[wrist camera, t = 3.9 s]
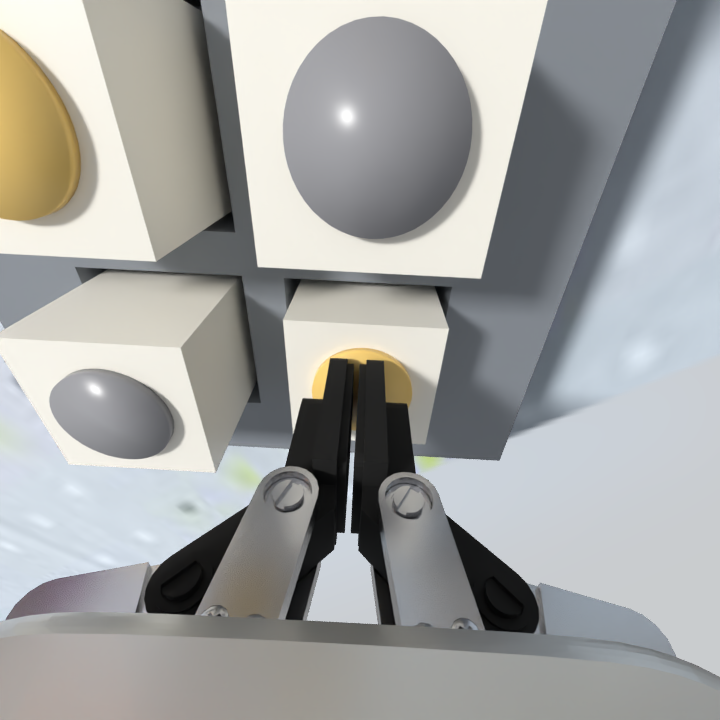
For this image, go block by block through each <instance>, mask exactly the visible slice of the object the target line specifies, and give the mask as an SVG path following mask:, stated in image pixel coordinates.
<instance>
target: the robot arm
mask: <svg viewBox="0 0 720 720" xmlns="http://www.w3.org/2000/svg"><path fill="white" fill-rule="evenodd" d="M353 382H354V364H350V363H348V359H342V358H330V361H329V367H328V373H327V378H326V384H325V390H324V395H323V399H311V398H303V399H302V402H301V405H300V409H299V413H298V417H297V421H296V425H295V429H294V433H293V437H292V441H291V445H290V449H289V453H288V457H287V461H286V465H285V467H282V468H278V469H276V470H274V471H272V472H270V473H269V474H268V475H267V476H266V477H264V478H263V480H262V481H261V483H260V484H259V485H258V487H257V489H256V492H255V494H254V496H253V498H252V500H251V502H250V504H249V505H248V506H247V507H245V508H244V509H242V510H241V511H239V512H237V513H236V514H234V515H233V516H231V517H230V518H228V519H227V520H225V521H224V522H222V523H221V524H219V525H218V526H216V527H215V528H213V529H212V530H210V531H208V532H207V533H205V534H204V535H202V536H201V537H199V538H198V539H196V540H195V541H193V542H192V543H190V544H189V545H187V546H186V547H184V548H183V549H181V550H180V551H178V552H176V553H175V554H173V555H172V556H170V557H169V558H168V559H167V560H166V561H164V562H163V563H162V564H160V565H155V566H150V564H149V563H142V564H136V565H131V566H125V567H120V568H114V569H109V570H103V571H97V572H92V573H86V574H81V575H75V576H70V577H64V578H59V579H55V580H52V581H49V582H46V583H43V584H41V585H40V586H38V587H36V588H35V589H33V590H31V591H30V592H28V593H27V594H26V595H25V596H24V597H23V598H22V599H21V600H20V601H19V602H18V603H17V604H16V605H15V606H14V608H13V609H12V611H11V612H10V613H9V615H8V616H7V618H6V620H4V621H1V622H0V720H720V677H719V676H717V675H715V674H712V673H711V672H709V671H707V670H705V669H703V668H701V667H699V666H696V665H694V664H692V663H689V662H687V661H684V660H681V659H679V658H677V657H676V655H675V653H674V651H673V649H672V647H671V645H670V643H669V641H668V639H667V638H666V636H665V635H664V634H663V633H662V632H661V631H660V629H659V628H658V627H657V626H656V625H655V624H654V623H653V622H651V621H650V620H649V619H647V618H646V617H645V616H643V615H642V614H640V613H637V612H635V611H633V610H631V609H629V608H625V607H622V606H618V605H615V604H611V603H608V602H604V601H601V600H597V599H594V598H591V597H587V596H583V595H580V594H577V593H573V592H570V591H566V590H563V589H560V588H556V587H553V586H549V585H546V584H542V583H540V584H539V585H538V586H534V585H530V584H527V583H526V582H525V581H524V580H523V579H522V578H521V577H520V576H519V575H518V574H517V573H516V572H515V571H513V570H512V569H511V568H510V567H509V566H507V565H506V564H505V563H504V562H503V561H501V560H500V559H499V558H497V557H496V556H495V555H494V554H493V553H492V552H490V551H489V550H488V549H487V548H486V547H484V546H483V545H482V544H481V543H480V542H478V541H477V540H476V539H474V537H472V536H471V535H470V534H469V533H467V532H466V531H465V530H464V529H463V528H462V527H460V526H459V525H458V524H457V523H455V522H454V521H453V520H452V519H451V518H449V517H448V516H447V515H446V514H445V511H444V508H443V506H442V503H441V500H440V497H439V494H438V492H437V490H436V488H435V487H434V486H433V485H432V484H431V483H430V482H429V480H427V479H425V478H424V477H422V476H421V475H418V474H416V472H415V463H414V455H413V446H412V438H411V430H410V421H409V413H408V406H407V403H390V402H386V396H385V373H384V361H381V360H367V361H366V364H360V366H359V384H358V402H357V421H356V439H355V457H354V478H353V499H352V520H351V533H357V534H359V535H358V546H359V552H360V553H361V554H362V555H363V556H364V557H365V558H366V559H367V560H368V562H369V563H370V564H371V576H372V584H373V591H374V597H375V606H376V613H377V620H378V625H377V624H360V623H339V622H321V621H306V620H307V616H308V612H309V609H310V605H311V601H312V597H313V594H314V590H315V586H316V582H317V578H318V575H319V571H320V567H321V560H323V558H325V557H326V556H327V555H328V554H329V553H331V552H332V551H333V550H334V545H336V539H337V532H338V533H344V532H345V520H346V519H345V518H346V505H347V491H348V476H349V462H350V447H351V432H352V407H353Z"/></svg>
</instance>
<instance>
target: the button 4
mask: <svg viewBox="0 0 720 720" xmlns="http://www.w3.org/2000/svg"><path fill="white" fill-rule="evenodd" d="M283 327H284V338H285V350H286V361H287V372H288V383H289V394H290V405H291V417H292V428H293V433H294V429H295V425H296V421H297V417H298V413H299V409H300V405H301V402H302V399H303V398H311V399H323V395H324V390H325V384H326V378H327V373H328V367H329V361H330V358H342V359H348V363H350V364H354V382H353V407H352V432H351V440H353V441H355V439H356V421H357V402H358V384H359V366H360V364H366V361H367V360H381V361H384V373H385V396H386V402H390V403H407V406H408V413H409V421H410V430H411V438H412V444H425V443H426V438H427V434H428V429H429V424H430V419H431V414H432V409H433V404H434V399H435V395H436V390H437V385H438V380H439V375H440V370H441V365H442V360H443V356H444V351H445V346H446V341H447V336H448V331H449V328H448V325H447V322H446V319H445V316H444V313H443V310H442V307H441V304H440V301H439V298H438V295H437V292H436V289H435V287H434V286H427V285H408V284H389V283H370V282H351V281H332V280H313V279H301V281H300V283H299V285H298V288H297V290H296V292H295V294H294V297H293V299H292V301H291V303H290V305H289V308H288V310H287V312H286V314H285V316H284V319H283Z"/></svg>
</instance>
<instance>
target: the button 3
mask: <svg viewBox="0 0 720 720" xmlns="http://www.w3.org/2000/svg"><path fill="white" fill-rule="evenodd" d="M547 1H548V0H225V3H226V12H227V20H228V28H229V36H230V44H231V52H232V61H233V69H234V77H235V85H236V93H237V102H238V110H239V118H240V126H241V134H242V142H243V151H244V159H245V167H246V175H247V183H248V192H249V200H250V208H251V216H252V224H253V232H254V241H255V249H256V257H257V265H258V267H268V268H287V269H306V270H325V271H344V272H363V273H382V274H402V275H421V276H440V277H459V278H478V279H481V276H482V272H483V268H484V263H485V259H486V255H487V251H488V247H489V243H490V238H491V234H492V230H493V226H494V222H495V218H496V213H497V209H498V205H499V201H500V197H501V193H502V189H503V184H504V180H505V176H506V172H507V168H508V164H509V159H510V155H511V151H512V147H513V143H514V139H515V134H516V130H517V126H518V122H519V118H520V114H521V109H522V105H523V101H524V97H525V93H526V89H527V85H528V80H529V76H530V72H531V68H532V64H533V60H534V55H535V51H536V47H537V43H538V39H539V35H540V30H541V26H542V22H543V18H544V14H545V10H546V5H547Z"/></svg>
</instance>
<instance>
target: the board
mask: <svg viewBox="0 0 720 720" xmlns="http://www.w3.org/2000/svg"><path fill="white" fill-rule="evenodd" d="M183 1H185V2H187V3H189V4H190V5H192V6H194V7H195V8H197V9H199V10H200V11H202V13H203V19H204V26H205V33H206V39H207V46H208V53H209V59H210V66H211V73H212V79H213V86H214V93H215V99H216V106H217V113H218V119H219V126H220V133H221V140H222V146H223V153H224V160H225V166H226V173H227V180H228V186H229V193H230V200H231V206H232V211H231V212H229V213H228V214H227V215H225V216H224V217H222V218H221V219H219V220H218V221H216V222H215V223H213V224H212V225H210V226H209V227H207V228H206V229H204V230H203V231H201V232H200V233H198V234H197V235H195V236H194V237H192V238H191V239H189V240H188V241H186V242H185V243H183V244H182V245H180V246H179V247H177V248H176V249H174V250H173V251H171V252H170V253H168V254H167V255H165V256H164V257H162V258H161V259H159V260H158V261H156V262H153V261H134V260H115V259H96V258H77V257H58V256H39V255H20V254H1V253H0V322H1V323H2V325H3V327H4V328H5V329H6V328H7V327H9V326H11V325H13V324H14V323H16V322H18V321H20V320H21V319H23V318H25V317H26V316H28V315H30V314H32V313H33V312H35V311H37V310H39V309H40V308H42V307H44V306H45V305H47V304H49V303H51V302H52V301H54V300H56V299H58V298H59V297H61V296H63V295H65V294H66V293H68V292H70V291H71V290H73V289H75V288H77V287H78V286H80V285H82V284H84V283H85V282H87V281H89V280H90V279H92V278H94V277H96V276H97V275H99V274H101V273H103V272H104V271H106V270H108V269H123V270H142V271H161V272H180V273H199V274H218V275H237V276H242V280H243V286H244V293H245V300H246V306H247V313H248V320H249V327H250V333H251V340H252V347H253V353H254V360H255V367H256V373H257V381H256V384H255V386H254V388H253V390H252V393H251V395H250V397H249V399H248V402H247V404H246V406H245V408H244V411H243V413H242V415H241V417H240V420H239V422H238V424H237V426H236V428H235V431H234V433H233V435H232V437H231V440H230V442H229V444H228V445H231V446H248V447H266V448H284V449H290V445H291V441H292V437H293V428H292V417H291V405H290V394H289V383H288V372H287V361H286V350H285V338H284V327H283V319H284V316H285V314H286V312H287V310H288V308H289V305H290V303H291V301H292V299H293V297H294V294H295V292H296V290H297V288H298V285H299V283H300V281H301V279H313V280H332V281H351V282H370V283H389V284H408V285H427V286H434V287H435V289H436V292H437V295H438V298H439V301H440V304H441V307H442V310H443V313H444V316H445V319H446V322H447V325H448V328H449V331H448V336H447V341H446V346H445V351H444V356H443V360H442V365H441V370H440V375H439V380H438V385H437V390H436V395H435V399H434V404H433V409H432V414H431V419H430V424H429V429H428V434H427V438H426V443H425V444H412V446H413V455H414V456H427V457H445V458H463V459H481V460H482V459H483V460H500V458H501V455H502V452H503V450H504V447H505V445H506V442H507V439H508V437H509V434H510V432H511V429H512V426H513V424H514V421H515V419H516V416H517V414H518V411H519V408H520V406H521V403H522V401H523V398H524V395H525V393H526V390H527V388H528V385H529V382H530V380H531V377H532V375H533V372H534V369H535V367H536V364H537V362H538V359H539V356H540V354H541V351H542V349H543V346H544V343H545V341H546V338H547V336H548V333H549V330H550V328H551V325H552V323H553V320H554V318H555V315H556V312H557V310H558V307H559V305H560V302H561V299H562V297H563V294H564V292H565V289H566V286H567V284H568V281H569V279H570V276H571V273H572V271H573V268H574V266H575V263H576V260H577V258H578V255H579V253H580V250H581V247H582V245H583V242H584V240H585V237H586V234H587V232H588V229H589V227H590V224H591V222H592V219H593V216H594V214H595V211H596V209H597V206H598V203H599V201H600V198H601V196H602V193H603V190H604V188H605V185H606V183H607V180H608V177H609V175H610V172H611V170H612V167H613V164H614V162H615V159H616V157H617V154H618V151H619V149H620V146H621V144H622V141H623V138H624V136H625V133H626V131H627V128H628V126H629V123H630V120H631V118H632V115H633V113H634V110H635V107H636V105H637V102H638V100H639V97H640V94H641V92H642V89H643V87H644V84H645V81H646V79H647V76H648V74H649V71H650V68H651V66H652V63H653V61H654V58H655V55H656V53H657V50H658V48H659V45H660V42H661V40H662V37H663V35H664V32H665V30H666V27H667V24H668V22H669V19H670V17H671V14H672V11H673V9H674V6H675V4H676V1H677V0H548V1H547V5H546V10H545V14H544V18H543V22H542V26H541V30H540V35H539V39H538V43H537V47H536V51H535V55H534V60H533V64H532V68H531V72H530V76H529V80H528V85H527V89H526V93H525V97H524V101H523V105H522V109H521V114H520V118H519V122H518V126H517V130H516V134H515V139H514V143H513V147H512V151H511V155H510V159H509V164H508V168H507V172H506V176H505V180H504V184H503V189H502V193H501V197H500V201H499V205H498V209H497V213H496V218H495V222H494V226H493V230H492V234H491V238H490V243H489V247H488V251H487V255H486V259H485V263H484V268H483V272H482V276H481V279H478V278H459V277H440V276H421V275H402V274H382V273H363V272H344V271H325V270H306V269H287V268H268V267H258V265H257V257H256V249H255V241H254V232H253V224H252V216H251V208H250V200H249V192H248V183H247V175H246V167H245V159H244V151H243V142H242V134H241V126H240V118H239V110H238V102H237V93H236V85H235V77H234V69H233V61H232V52H231V44H230V36H229V28H228V20H227V12H226V3H225V0H183ZM350 452H355V441H353V440H351V447H350Z"/></svg>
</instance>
